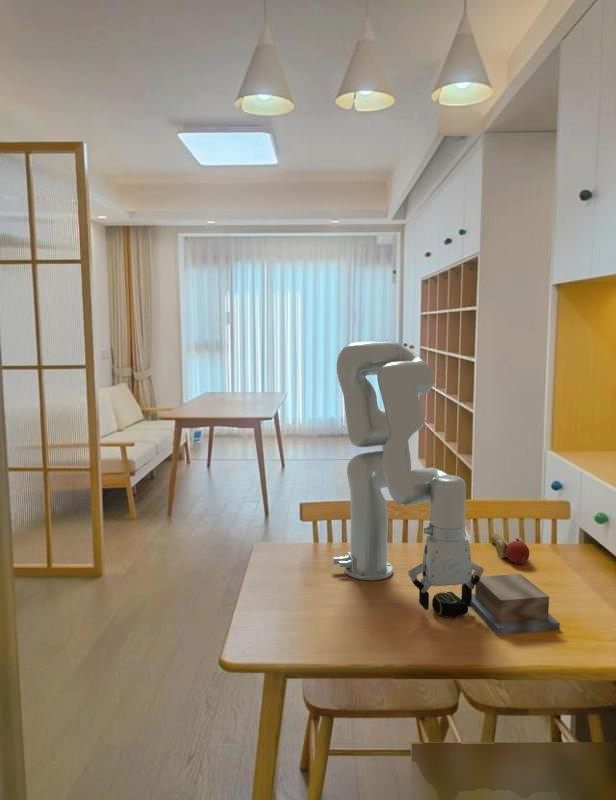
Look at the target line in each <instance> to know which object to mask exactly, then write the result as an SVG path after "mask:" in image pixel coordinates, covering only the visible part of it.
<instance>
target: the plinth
mask: <svg viewBox="0 0 616 800" xmlns="http://www.w3.org/2000/svg"><path fill="white" fill-rule="evenodd" d="M474 589H475V590H474V593H472V600H471V601H470V608H471V609H473V611H475V612H476V614H477V615H478V616H479V617H480V618H481V619H482V620H483V621H484V622H485V623H486V625H487V626H488V627H489V628H490V629H491V630H492V631H493V632H494V633H495V635H497V636H500V635H501V636H502V635H503V636H504V635H513V634H524V633H525V634H526V633H536V632H546V631H559V630H560V629H561V627H560V625H561V622H559V620H557V619H556V618H555V617H554V616H553V615H551V614H550V613H549V610H550V609H549V608H550V607H549V606H550V596H549V595H548V594H546V593H545V591H543V590H541V589H540V588H539V587H538V586H537V585H535V584H534V583H532V582H531V581H530V580H529V579H527V578H526V577H525V576H523V574H521V573H514V574H512V573H511V574H497V575H486V576H483V575H481V577H480V580H479V581H478V582H477V583H476V585H475V586H474Z"/></svg>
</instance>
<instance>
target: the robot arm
mask: <svg viewBox="0 0 616 800" xmlns="http://www.w3.org/2000/svg"><path fill="white" fill-rule="evenodd" d="M336 375H337V380H338V382H339V383H338V384H339V385H340V388H341V392H342V396H343V400H344V401H343V402H344V410H345V418H346V425H347V426H346V427H347V433H348V439H349V440H350V443H351V444H352V445H353V446H355V447H356V448H370V447H371V448H372V447H378V446H379V447H380V446H381V448H382V450H376V451H370V452H363V453H362V452H361V453H360V454H357V455H355V456H354V457H352V458H351V459H349V462H348V464H347V468H346V475H347V479H348V480H347V481H348V486H349V487H348V488H349V492H350V493H349V494H350V551H347V554H346V555H343V556H333V557H332V565H333V566H334V565H335V566H336V565H338V566H339V568H344V572H345V574H346V575H348V576H349V577H351V578H354V579H357V580H361V581H379V580H380V581H381V580H384V579H387V578H389V577H390V576H391V575H392V574H393V572H394V569H393V565H392V564H390V563H389V562H388V511H389V510H388V509H389V508H388V503H387V501H386V499H385V496H384V495H383V493H382V491H381V490H382V489H383V488H387V490H388V492H389V495H390V496H391V498H392V500H393V502H395V503H397V504H398V505H400V506H412V505H413V506H414V505H418V504H422V503H428V502H429V504H430V505H429V506H430V509H429V523H428V526H427V527H424V528H423V533H424V534H425V535H427V536H426V540H425V543H424V549H423V554H422V563H420V564H419V565H417V566H415V567H413V568H411V569H410V570H408V572H407V575H408V576H409V578H410V580H411V582H412V583H413V585H414V586H415V587H416V588H417V589H418V590H419V592H418V600H419V601H418V603H419V605H420V606H421V607H422V608H423V610H424V611H428V610H429V608H430V606H429V605H430V593H429V592H428V590H429V589H430V588H431V587H432V586H433V587H442V586H456V585H458V586H459V585H461V596H460V597H461V598H460V599H462V600H463V601H464V602H465V603H466V604H467V605H468V608H471V606H470V601H471V600H472V594H473V590H474V589H475V586H476V583H477V582H478V581H479V580H480V577H482V576H483V573H484V571H485V569H484V568H483V566H481V565H479V564H477V563H476V562H475V563H474V562H472V555H471V554H472V553H471V547H470V541H469V538H468V537H466V501H467V500H466V497H467V495H466V494H467V484H466V481H465V479H464V478H462V477H460V476H458V475H453V474H448V473H446V472H445V471H443V470H441V469H439V468H437V467H425V468H420V469H412V459H411V452H410V446H409V445H410V443H409V441H410V438H411V437H412V436H413V435H414V434H415V433H417V432H418V431H419V430H421V429H422V428H423V427H424V426H425V424H426V418H425V415H424V412H423V408H422V404H421V401H420V397H419V396H420V395H425V394H428V393H429V392H430V391H432V388H433V386H434V381H435V378H434V374H433V371H432V369H431V367H430V366H429V364H428V363H427V362H426V361H425V360H423V359H422V358H421V357H420V356H419V355H417V354H415V353H414V352H413V351H412V350H410V349H409V348H407V347H406V346H404V345H403V344H401V343H399V342H395V341H359V342H358V341H357V342H352V343H350V344H347V345H346V346H344V347H343V348H342V349H341V350H340V352H339V354H338V356H337V361H336ZM367 376H376V377H377V380H376V381H377V384H378V388H379V393H380V395H381V396H380V397H381V400H382V404H383V408H380V409H379V404H378V398H377V397H378V396H377V392H376V390H375V388H374V386H373V385H372V383H371V381H370V380H369V379H368V378H367ZM472 570H474V572H472ZM420 574H422V578H421V579H420V580H419V579H418V578H417V577H418V575H420Z"/></svg>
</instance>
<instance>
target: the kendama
mask: <svg viewBox="0 0 616 800" xmlns="http://www.w3.org/2000/svg"><path fill="white" fill-rule="evenodd" d="M489 539H490V542H491V543H492V544H494V545H495V551H496V554H497V555H498V557H499V556H500V557H501V559H504V558H506V557H507V558H508V559H509V561H510V562H512V563H513V564H518V565H519V564H520V565H522V564H524V563H525V562H527V561H528V560H529V558H530V549H529V547H528V545H527V544H526V543H525V541H524V540H523V539H522V537H517V538H515V540H514V541H511V542H508V541H507V540H506V539H505V538H504V537H502V536H500V535H499V534H498V533H493V534H491V535H490V538H489ZM500 557H499V558H500Z"/></svg>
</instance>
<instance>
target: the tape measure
mask: <svg viewBox="0 0 616 800" xmlns="http://www.w3.org/2000/svg"><path fill="white" fill-rule="evenodd" d="M431 607H432V608H433V609H432V610H433V611H434V612H435V613H436V614H438V615H439V616H442V617H445V618H458V617H459V616H462V615H465V614H467V613H468V612H469V607H468V605H467V604H466V603H465V602H464V601H463V600H462V599H461V598H460V597H459V596H457V595H456V594H455V593H454V592H452V591H447V592H437V593H436V594H434V596H433V598H432V600H431Z"/></svg>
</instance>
